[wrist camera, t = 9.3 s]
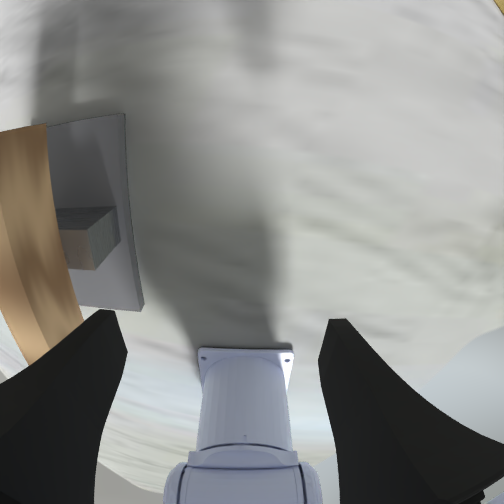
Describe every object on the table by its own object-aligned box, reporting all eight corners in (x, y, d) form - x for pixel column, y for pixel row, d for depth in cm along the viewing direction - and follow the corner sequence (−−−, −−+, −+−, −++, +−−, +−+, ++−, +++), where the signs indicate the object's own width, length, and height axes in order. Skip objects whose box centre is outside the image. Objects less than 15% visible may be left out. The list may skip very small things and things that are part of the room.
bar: (92, 342, 17) (69, 385, 13) (59, 336, 17) (34, 375, 13) (46, 123, 11) (-8, 133, 7) (10, 133, 11) (-40, 147, 7)
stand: (144, 304, 21) (123, 348, 17) (63, 296, 21) (35, 331, 17) (124, 113, 15) (84, 116, 11) (33, 131, 15) (-13, 142, 11)
